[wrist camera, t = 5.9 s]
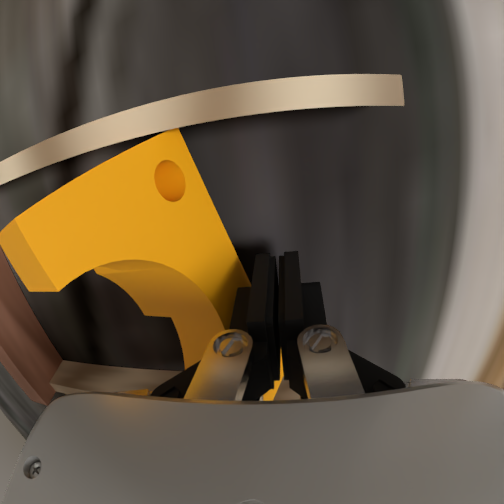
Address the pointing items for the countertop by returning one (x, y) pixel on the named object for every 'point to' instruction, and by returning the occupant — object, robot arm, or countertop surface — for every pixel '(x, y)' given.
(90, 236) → the pipe clamp
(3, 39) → the countertop surface
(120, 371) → the guide channel
